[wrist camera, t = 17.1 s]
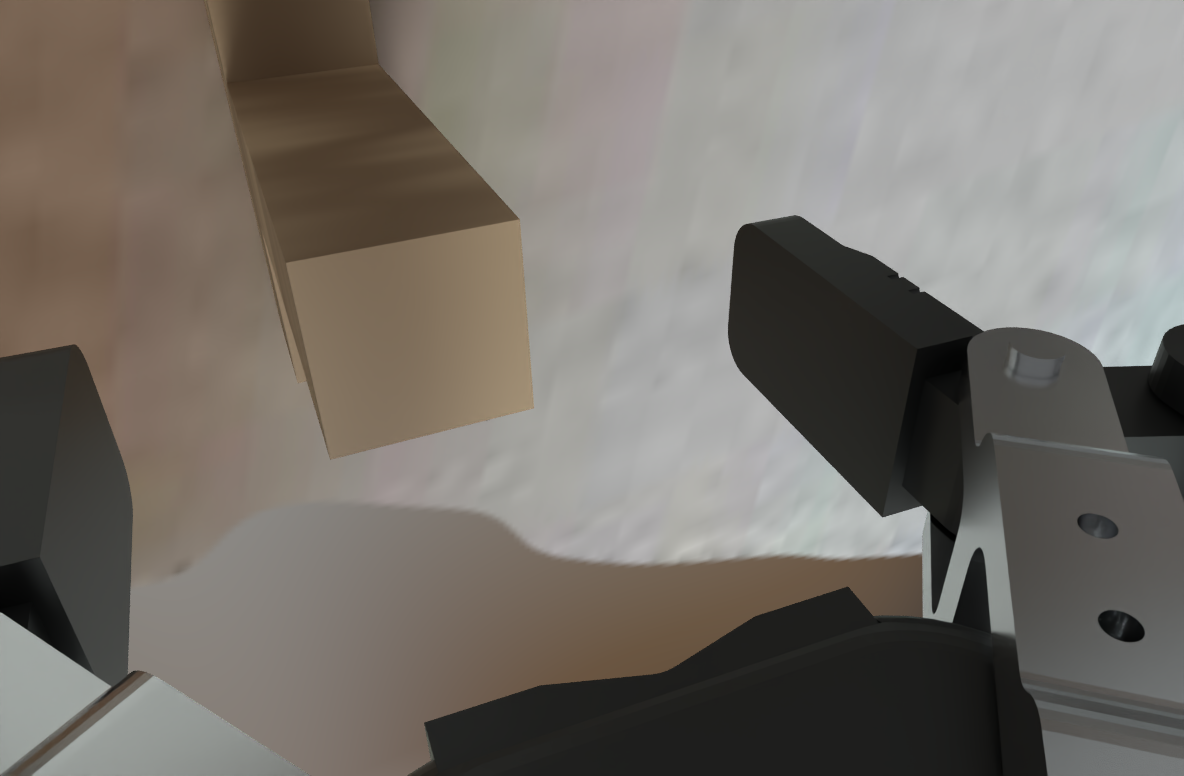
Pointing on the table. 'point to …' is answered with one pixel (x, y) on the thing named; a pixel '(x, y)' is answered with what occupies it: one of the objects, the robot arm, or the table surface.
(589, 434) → the table surface
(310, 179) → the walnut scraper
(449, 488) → the table surface
